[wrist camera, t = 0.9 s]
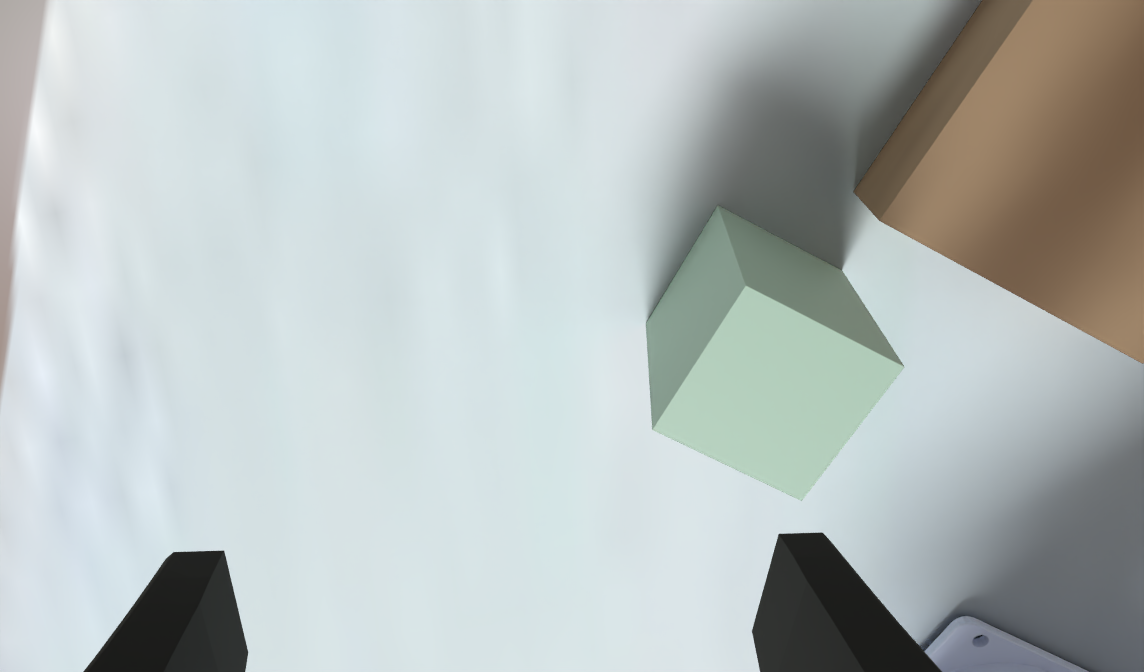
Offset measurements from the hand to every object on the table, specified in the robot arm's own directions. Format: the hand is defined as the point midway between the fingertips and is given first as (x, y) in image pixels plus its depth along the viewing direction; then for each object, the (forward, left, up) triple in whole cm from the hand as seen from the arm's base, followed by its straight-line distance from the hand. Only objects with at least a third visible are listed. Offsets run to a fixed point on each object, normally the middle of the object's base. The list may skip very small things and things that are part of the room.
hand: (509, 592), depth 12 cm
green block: (-5, -1, -14) cm, 15 cm away
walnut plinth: (-10, -9, -15) cm, 20 cm away
